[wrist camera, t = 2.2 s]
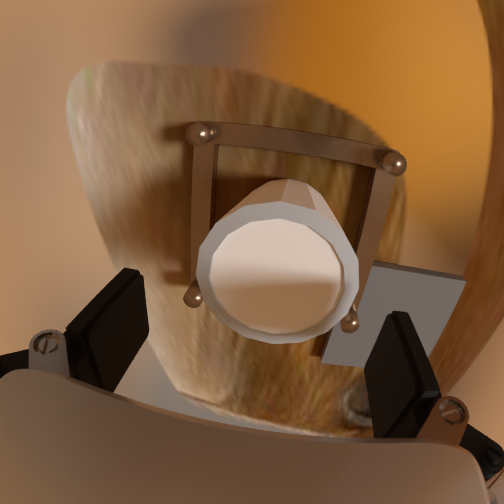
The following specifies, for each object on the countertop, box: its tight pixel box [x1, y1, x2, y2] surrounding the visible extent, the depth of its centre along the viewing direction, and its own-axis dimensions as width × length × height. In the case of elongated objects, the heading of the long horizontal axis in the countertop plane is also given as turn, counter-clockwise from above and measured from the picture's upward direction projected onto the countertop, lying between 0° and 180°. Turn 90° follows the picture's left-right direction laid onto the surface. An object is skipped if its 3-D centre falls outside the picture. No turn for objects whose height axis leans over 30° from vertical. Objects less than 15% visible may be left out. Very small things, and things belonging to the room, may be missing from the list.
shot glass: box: [196, 179, 359, 344], centre depth 15 cm, size 7×7×7 cm
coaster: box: [321, 261, 466, 367], centre depth 20 cm, size 9×9×1 cm
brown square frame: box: [183, 121, 407, 333], centre depth 17 cm, size 11×11×2 cm
